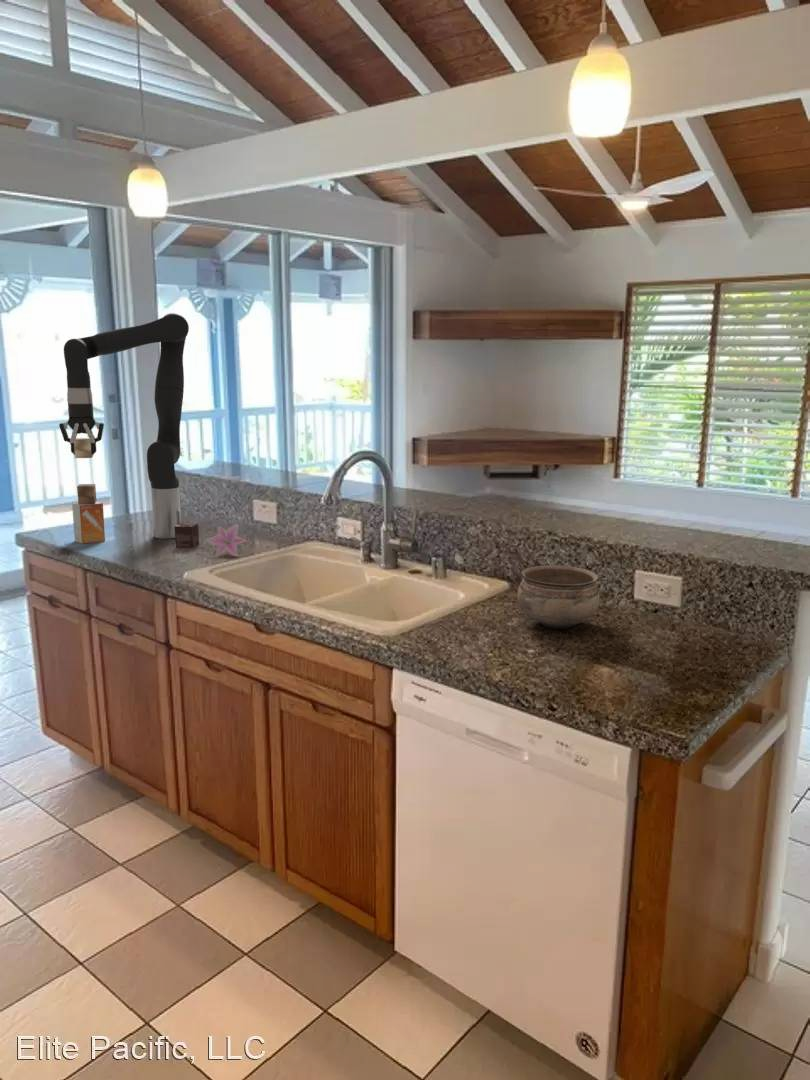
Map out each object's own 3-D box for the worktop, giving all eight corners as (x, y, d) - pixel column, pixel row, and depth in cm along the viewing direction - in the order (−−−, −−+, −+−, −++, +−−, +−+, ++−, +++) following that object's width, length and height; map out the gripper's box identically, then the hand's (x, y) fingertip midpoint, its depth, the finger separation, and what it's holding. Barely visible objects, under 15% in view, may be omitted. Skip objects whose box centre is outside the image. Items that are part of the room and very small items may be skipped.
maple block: (93, 456, 268) (92, 438, 266) (91, 458, 263) (90, 439, 262) (77, 456, 266) (75, 438, 265) (75, 458, 262) (73, 439, 260)
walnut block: (96, 501, 271) (95, 483, 270) (94, 504, 266) (93, 486, 265) (80, 501, 270) (79, 484, 268) (78, 504, 265) (77, 486, 264)
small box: (82, 544, 266) (79, 505, 263) (74, 541, 270) (71, 502, 267) (105, 540, 271) (103, 502, 268) (98, 537, 276) (95, 500, 273)
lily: (203, 556, 256) (202, 535, 250) (223, 537, 264) (223, 517, 258) (232, 569, 253) (231, 549, 247) (252, 550, 261) (252, 530, 255)
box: (199, 544, 268) (198, 523, 266) (193, 548, 262) (192, 526, 260) (182, 544, 268) (181, 522, 267) (175, 548, 262) (174, 526, 261)
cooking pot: (551, 605, 205) (554, 558, 202) (619, 621, 192) (622, 572, 189) (492, 627, 187) (494, 576, 184) (562, 647, 174) (565, 593, 172)
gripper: (104, 401, 266) (108, 452, 270) (58, 401, 263) (62, 453, 266) (102, 402, 259) (105, 455, 263) (54, 402, 256) (58, 456, 259)
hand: (83, 454), depth 264 cm, fingers closed on maple block, 5 cm apart
